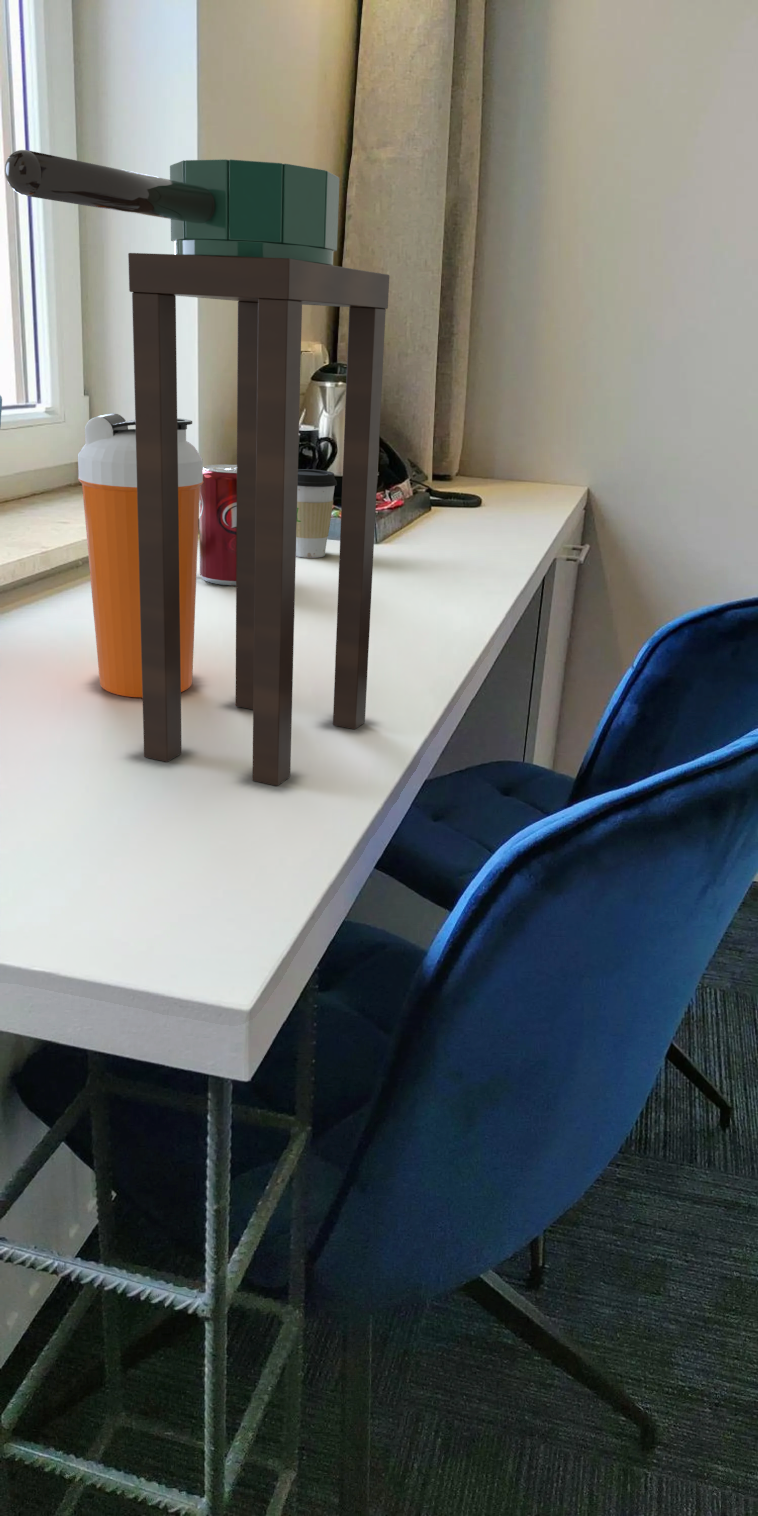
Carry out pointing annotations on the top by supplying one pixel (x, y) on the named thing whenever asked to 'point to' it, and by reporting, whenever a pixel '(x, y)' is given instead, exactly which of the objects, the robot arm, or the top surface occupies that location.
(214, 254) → the green faceted container
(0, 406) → the robot arm
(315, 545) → the coffee cup
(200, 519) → the soda can
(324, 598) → the top surface
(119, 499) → the shaker bottle
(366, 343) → the tall wooden stool
